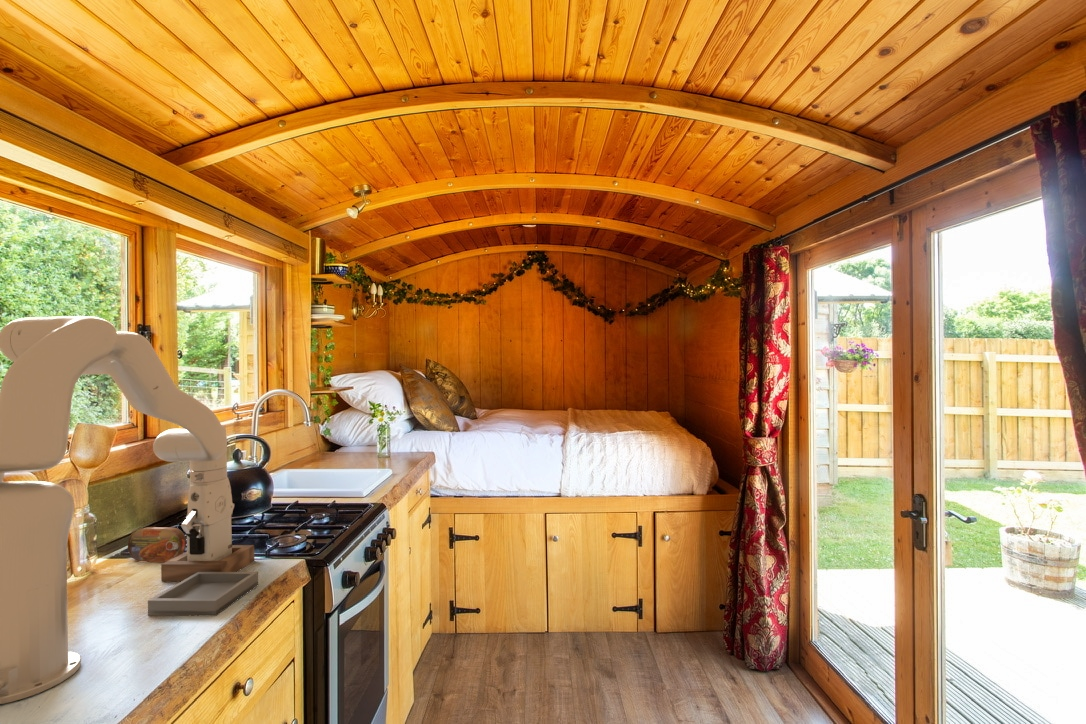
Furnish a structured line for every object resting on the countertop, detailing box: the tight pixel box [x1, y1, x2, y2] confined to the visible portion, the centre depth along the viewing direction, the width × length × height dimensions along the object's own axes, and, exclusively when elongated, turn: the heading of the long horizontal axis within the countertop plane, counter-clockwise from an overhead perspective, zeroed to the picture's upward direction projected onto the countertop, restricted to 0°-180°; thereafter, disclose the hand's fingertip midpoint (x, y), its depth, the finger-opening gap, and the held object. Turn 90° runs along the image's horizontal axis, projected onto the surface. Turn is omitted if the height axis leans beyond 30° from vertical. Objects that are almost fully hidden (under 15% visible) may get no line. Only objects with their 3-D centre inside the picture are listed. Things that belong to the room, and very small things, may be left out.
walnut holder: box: [160, 544, 255, 582], centre depth 124 cm, size 12×14×4 cm
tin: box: [127, 526, 187, 563], centre depth 132 cm, size 15×3×8 cm, turn 82°
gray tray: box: [147, 571, 259, 617], centre depth 109 cm, size 14×14×3 cm
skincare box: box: [185, 514, 233, 561], centre depth 124 cm, size 8×6×15 cm
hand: (210, 546), depth 124 cm, fingers closed on skincare box, 8 cm apart
